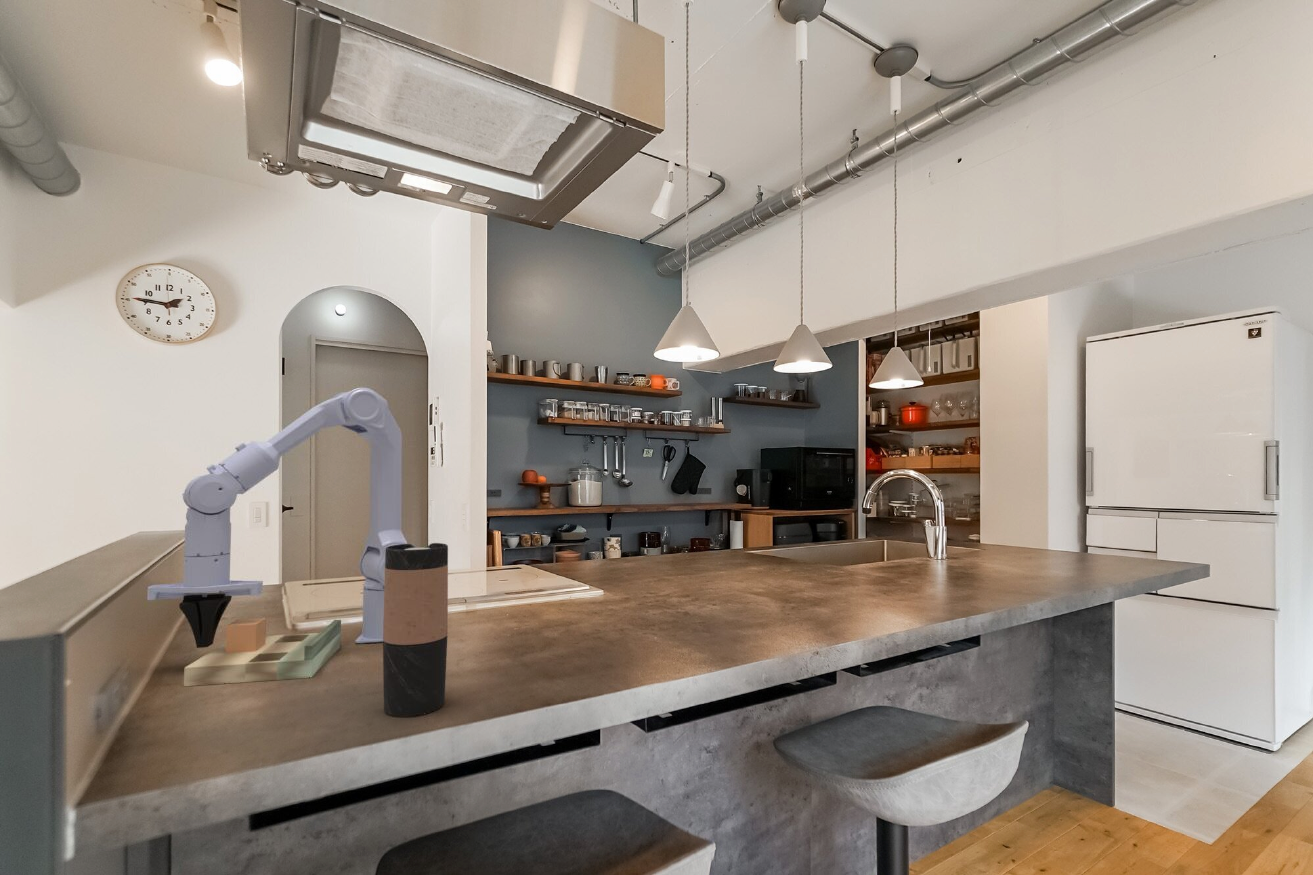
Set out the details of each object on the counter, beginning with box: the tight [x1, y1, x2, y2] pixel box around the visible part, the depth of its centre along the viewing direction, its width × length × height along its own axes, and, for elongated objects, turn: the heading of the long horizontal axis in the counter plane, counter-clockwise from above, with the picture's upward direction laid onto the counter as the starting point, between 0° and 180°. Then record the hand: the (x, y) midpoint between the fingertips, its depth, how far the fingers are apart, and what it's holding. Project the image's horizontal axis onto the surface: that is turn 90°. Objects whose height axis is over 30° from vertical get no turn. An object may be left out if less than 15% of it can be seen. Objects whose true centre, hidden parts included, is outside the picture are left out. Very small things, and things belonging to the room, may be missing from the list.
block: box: [225, 617, 267, 653], centre depth 97 cm, size 4×4×4 cm
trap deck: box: [183, 619, 342, 687], centre depth 97 cm, size 16×16×4 cm
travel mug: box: [382, 542, 449, 718], centre depth 80 cm, size 8×8×20 cm
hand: (204, 645), depth 95 cm, fingers closed
